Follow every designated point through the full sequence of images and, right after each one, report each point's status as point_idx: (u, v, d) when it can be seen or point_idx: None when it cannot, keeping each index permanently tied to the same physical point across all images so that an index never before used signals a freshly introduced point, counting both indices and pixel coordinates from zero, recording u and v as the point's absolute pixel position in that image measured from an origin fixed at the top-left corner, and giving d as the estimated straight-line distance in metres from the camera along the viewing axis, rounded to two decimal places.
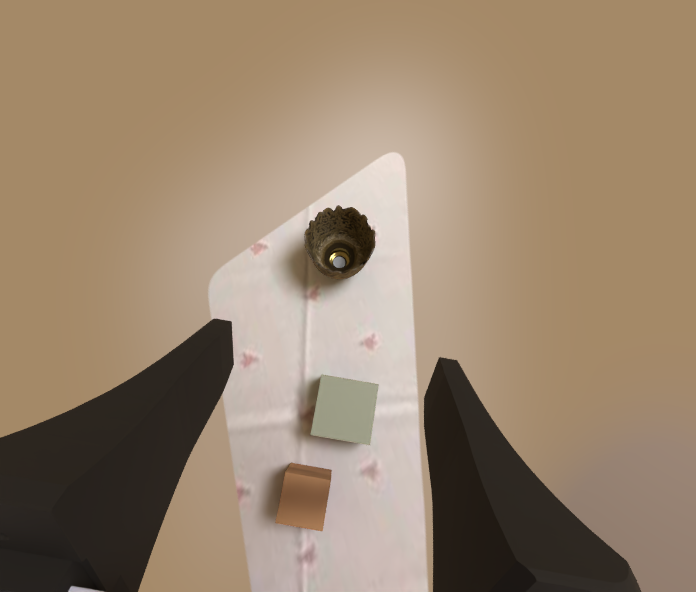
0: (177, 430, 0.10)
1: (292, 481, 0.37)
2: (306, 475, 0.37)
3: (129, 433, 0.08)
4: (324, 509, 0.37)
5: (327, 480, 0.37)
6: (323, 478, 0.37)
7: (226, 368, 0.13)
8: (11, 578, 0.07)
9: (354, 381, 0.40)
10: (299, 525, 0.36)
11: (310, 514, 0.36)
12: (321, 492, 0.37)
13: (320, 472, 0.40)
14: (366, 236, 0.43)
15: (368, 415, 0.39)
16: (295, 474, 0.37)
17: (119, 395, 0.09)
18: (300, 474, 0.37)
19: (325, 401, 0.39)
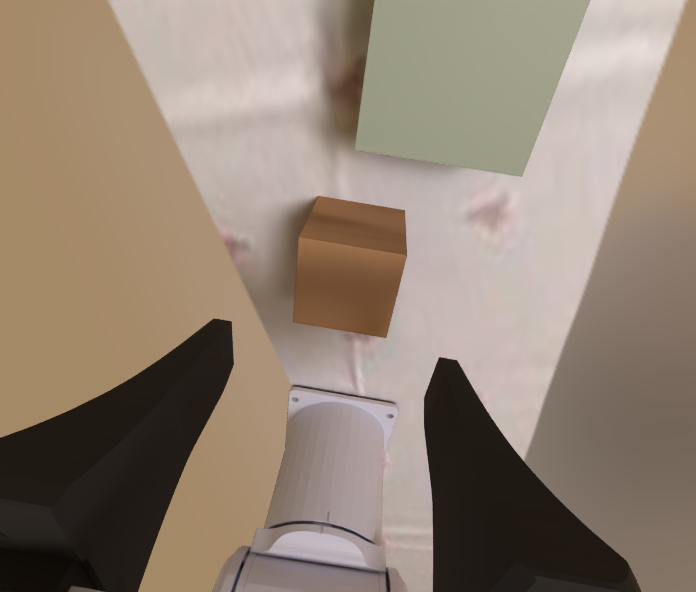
0: (177, 430, 0.10)
1: (318, 256, 0.16)
2: (349, 243, 0.16)
3: (129, 433, 0.08)
4: (390, 306, 0.17)
5: (398, 255, 0.16)
6: (389, 249, 0.16)
7: (226, 368, 0.13)
8: (11, 578, 0.07)
9: None
10: (340, 327, 0.18)
11: (360, 313, 0.18)
12: (384, 277, 0.16)
13: (381, 224, 0.18)
14: None
15: (537, 85, 0.12)
16: (323, 241, 0.16)
17: (119, 395, 0.09)
18: (335, 241, 0.16)
19: (399, 38, 0.12)
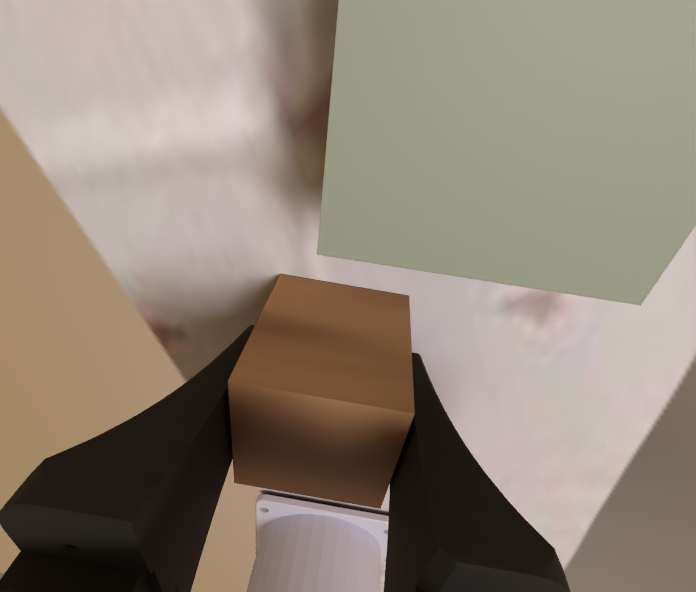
0: (223, 438, 0.10)
1: (264, 407, 0.10)
2: (315, 388, 0.09)
3: (190, 444, 0.08)
4: (387, 473, 0.11)
5: (400, 412, 0.09)
6: (384, 400, 0.09)
7: None
8: (11, 578, 0.07)
9: None
10: (308, 493, 0.12)
11: (339, 478, 0.11)
12: (376, 439, 0.10)
13: (373, 333, 0.11)
14: None
15: None
16: (270, 388, 0.09)
17: (173, 404, 0.09)
18: (291, 385, 0.09)
19: (404, 40, 0.05)
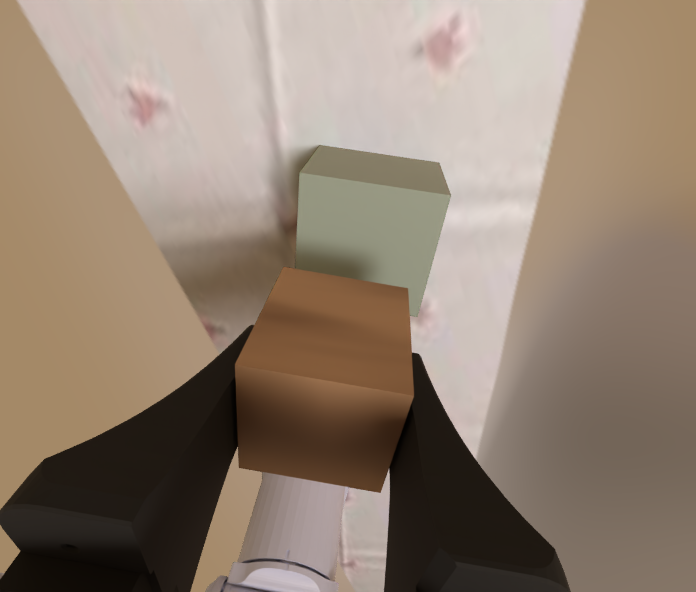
0: (223, 438, 0.10)
1: (270, 391, 0.10)
2: (319, 372, 0.10)
3: (189, 444, 0.08)
4: (387, 456, 0.11)
5: (400, 395, 0.10)
6: (384, 383, 0.10)
7: None
8: (11, 578, 0.07)
9: (386, 189, 0.15)
10: (310, 477, 0.12)
11: (341, 462, 0.11)
12: (377, 422, 0.10)
13: (373, 322, 0.12)
14: None
15: (417, 264, 0.17)
16: (275, 371, 0.10)
17: (172, 404, 0.09)
18: (295, 368, 0.10)
19: (317, 235, 0.16)
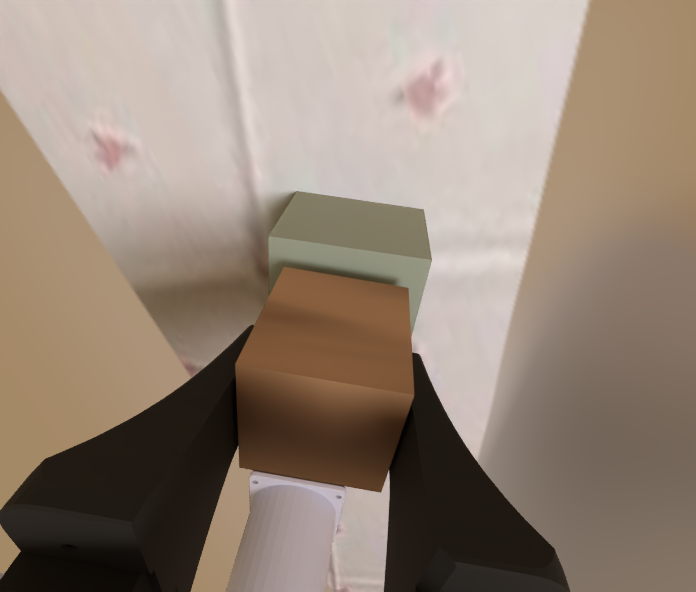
0: (223, 438, 0.10)
1: (270, 391, 0.10)
2: (319, 371, 0.10)
3: (190, 444, 0.08)
4: (388, 456, 0.11)
5: (401, 394, 0.10)
6: (385, 382, 0.10)
7: None
8: (11, 578, 0.07)
9: (362, 253, 0.14)
10: (311, 477, 0.12)
11: (341, 462, 0.11)
12: (377, 422, 0.10)
13: (374, 322, 0.12)
14: None
15: None
16: (276, 371, 0.10)
17: (172, 404, 0.09)
18: (296, 368, 0.10)
19: None
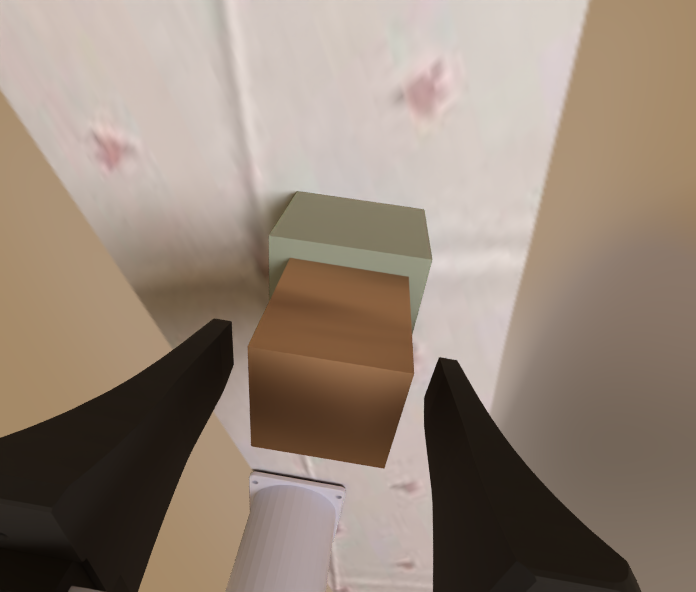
0: (177, 430, 0.10)
1: (280, 371, 0.11)
2: (325, 353, 0.10)
3: (129, 433, 0.08)
4: (390, 433, 0.12)
5: (401, 373, 0.10)
6: (387, 363, 0.10)
7: (226, 368, 0.13)
8: (11, 578, 0.07)
9: (363, 252, 0.14)
10: (318, 454, 0.13)
11: (347, 439, 0.12)
12: (379, 400, 0.11)
13: (376, 308, 0.12)
14: None
15: None
16: (285, 353, 0.10)
17: (119, 395, 0.09)
18: (304, 350, 0.10)
19: None
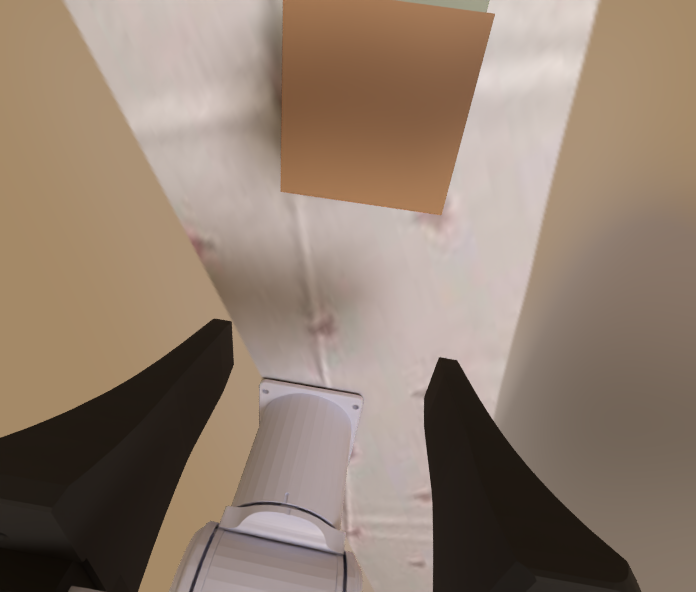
0: (177, 430, 0.10)
1: (322, 33, 0.09)
2: None
3: (129, 433, 0.08)
4: (454, 143, 0.10)
5: (478, 16, 0.08)
6: None
7: (226, 368, 0.13)
8: (10, 578, 0.07)
9: None
10: (362, 198, 0.11)
11: (399, 163, 0.10)
12: (446, 76, 0.09)
13: None
14: None
15: None
16: None
17: (119, 395, 0.09)
18: None
19: None
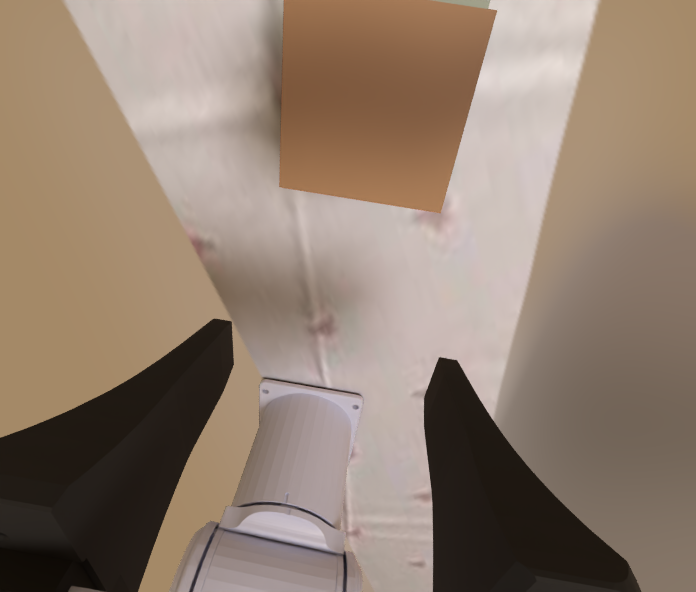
0: (177, 430, 0.10)
1: (323, 27, 0.08)
2: None
3: (129, 433, 0.08)
4: (454, 141, 0.09)
5: (480, 12, 0.08)
6: None
7: (226, 368, 0.13)
8: (10, 578, 0.07)
9: None
10: (361, 195, 0.10)
11: (398, 159, 0.10)
12: (447, 73, 0.09)
13: None
14: None
15: None
16: None
17: (119, 395, 0.09)
18: None
19: None
